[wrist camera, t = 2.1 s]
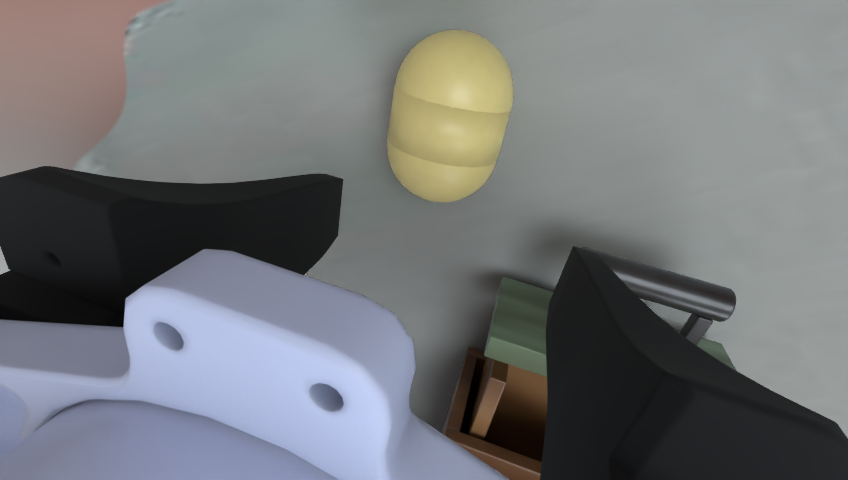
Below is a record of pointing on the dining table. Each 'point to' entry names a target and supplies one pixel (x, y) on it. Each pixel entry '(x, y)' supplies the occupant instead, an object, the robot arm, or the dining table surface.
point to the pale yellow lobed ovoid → (449, 115)
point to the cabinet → (506, 462)
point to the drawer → (526, 349)
